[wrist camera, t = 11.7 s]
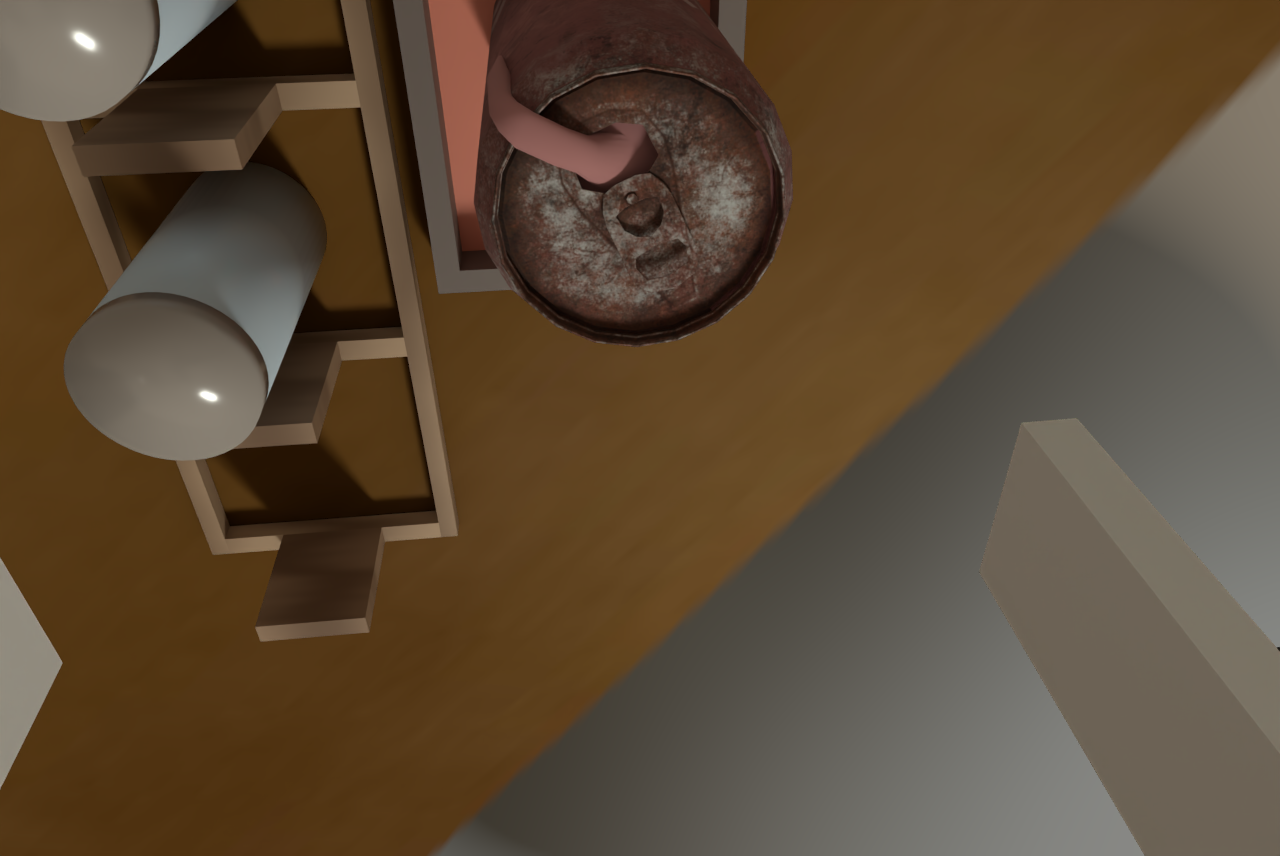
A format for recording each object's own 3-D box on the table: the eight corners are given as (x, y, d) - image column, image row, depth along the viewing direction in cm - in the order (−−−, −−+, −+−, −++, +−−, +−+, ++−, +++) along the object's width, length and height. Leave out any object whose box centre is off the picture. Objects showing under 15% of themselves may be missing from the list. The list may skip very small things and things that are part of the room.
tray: (442, 267, 32) (438, 293, 31) (358, -294, 23) (346, -298, 22) (721, 252, 33) (731, 277, 32) (747, -296, 24) (763, -300, 22)
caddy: (218, 541, 39) (176, 648, 34) (-106, -296, 22) (-272, -311, 18) (458, 523, 39) (450, 625, 35) (319, -299, 23) (268, -313, 18)
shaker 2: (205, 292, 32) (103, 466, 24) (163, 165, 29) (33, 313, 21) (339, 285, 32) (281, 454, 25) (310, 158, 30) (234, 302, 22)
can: (538, -128, 25) (553, -37, 14) (728, -8, 28) (872, 153, 16) (451, 73, 28) (404, 282, 17) (630, 166, 30) (694, 405, 19)
